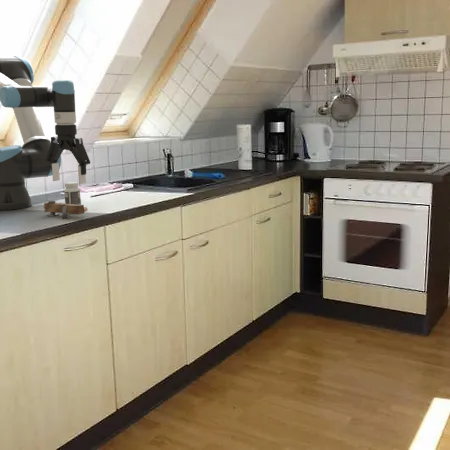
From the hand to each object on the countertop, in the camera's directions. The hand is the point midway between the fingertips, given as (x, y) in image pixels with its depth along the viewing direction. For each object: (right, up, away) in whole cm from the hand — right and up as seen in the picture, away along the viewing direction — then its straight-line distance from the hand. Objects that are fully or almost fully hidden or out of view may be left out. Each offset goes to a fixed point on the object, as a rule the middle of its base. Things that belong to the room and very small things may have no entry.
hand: (69, 182), depth 217 cm
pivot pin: (-4, -12, -7) cm, 15 cm away
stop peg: (+2, -14, -14) cm, 20 cm away
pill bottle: (+1, -10, +1) cm, 10 cm away
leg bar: (+1, -11, -10) cm, 15 cm away
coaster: (+1, -10, +1) cm, 11 cm away
